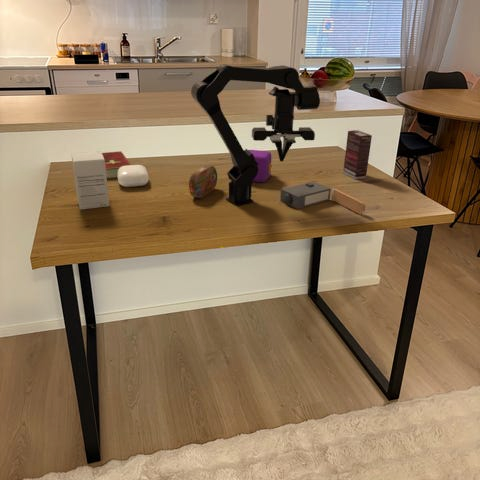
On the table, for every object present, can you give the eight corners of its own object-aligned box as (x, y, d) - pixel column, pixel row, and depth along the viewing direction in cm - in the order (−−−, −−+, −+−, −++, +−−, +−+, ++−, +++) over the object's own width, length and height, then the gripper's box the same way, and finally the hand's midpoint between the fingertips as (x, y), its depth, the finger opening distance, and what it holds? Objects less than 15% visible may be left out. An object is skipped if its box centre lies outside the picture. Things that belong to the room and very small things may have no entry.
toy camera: (271, 172, 179) (273, 145, 174) (270, 184, 167) (271, 156, 162) (243, 170, 180) (243, 144, 175) (239, 182, 167) (240, 154, 163)
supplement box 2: (366, 178, 174) (372, 135, 167) (355, 179, 173) (361, 136, 166) (353, 171, 181) (358, 129, 174) (342, 172, 180) (347, 130, 173)
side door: (364, 213, 143) (366, 202, 142) (359, 214, 143) (361, 203, 141) (335, 198, 154) (336, 187, 153) (331, 199, 153) (332, 188, 152)
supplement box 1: (77, 199, 150) (70, 152, 143) (106, 196, 153) (101, 150, 146) (79, 210, 142) (72, 161, 135) (110, 206, 145) (105, 158, 138)
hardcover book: (123, 160, 189) (122, 150, 187) (134, 176, 172) (133, 165, 170) (91, 163, 185) (90, 153, 183) (100, 180, 168) (98, 168, 166)
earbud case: (118, 190, 158) (117, 174, 156) (117, 177, 170) (116, 163, 167) (149, 188, 161) (148, 173, 158) (146, 176, 172) (145, 161, 169)
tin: (196, 201, 150) (195, 176, 146) (187, 200, 151) (186, 174, 148) (218, 187, 162) (218, 163, 159) (209, 186, 164) (209, 162, 160)
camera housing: (294, 209, 146) (296, 195, 144) (277, 201, 152) (278, 188, 150) (329, 200, 154) (331, 186, 152) (312, 192, 160) (313, 179, 158)
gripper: (308, 105, 151) (304, 153, 158) (250, 105, 150) (248, 154, 156) (317, 112, 141) (312, 163, 148) (254, 112, 140) (253, 164, 146)
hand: (281, 161), depth 150 cm, fingers closed
